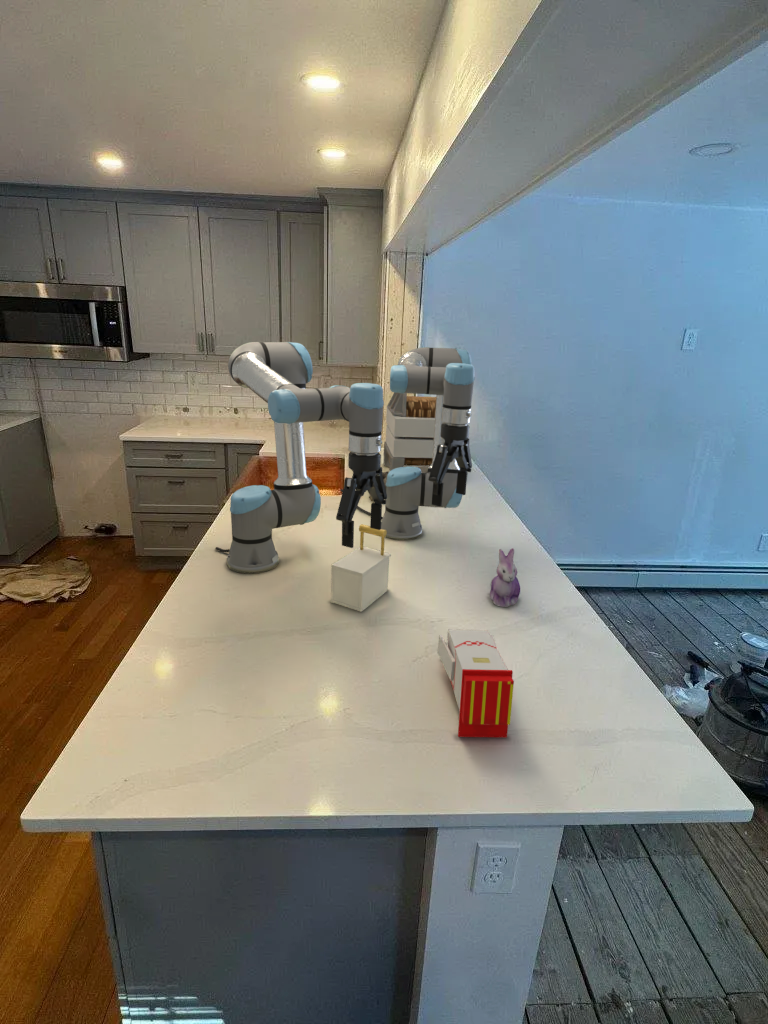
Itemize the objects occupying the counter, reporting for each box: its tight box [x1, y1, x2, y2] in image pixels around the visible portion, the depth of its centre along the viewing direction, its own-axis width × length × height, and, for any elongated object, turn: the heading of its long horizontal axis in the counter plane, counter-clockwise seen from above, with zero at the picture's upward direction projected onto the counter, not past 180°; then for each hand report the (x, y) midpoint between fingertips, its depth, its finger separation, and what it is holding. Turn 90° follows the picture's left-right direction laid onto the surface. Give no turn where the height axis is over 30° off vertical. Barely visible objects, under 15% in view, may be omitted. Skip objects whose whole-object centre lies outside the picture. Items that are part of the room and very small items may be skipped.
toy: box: [437, 628, 515, 738], centre depth 117 cm, size 12×13×30 cm
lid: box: [330, 523, 392, 576], centre depth 151 cm, size 15×10×8 cm, turn 151°
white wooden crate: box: [383, 392, 458, 472], centre depth 268 cm, size 34×33×41 cm
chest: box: [330, 557, 390, 613], centre depth 154 cm, size 14×10×10 cm, turn 151°
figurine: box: [489, 547, 521, 608], centre depth 154 cm, size 9×10×15 cm
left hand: (362, 537), depth 138 cm, fingers open, 13 cm apart
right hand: (448, 499), depth 158 cm, fingers open, 13 cm apart
